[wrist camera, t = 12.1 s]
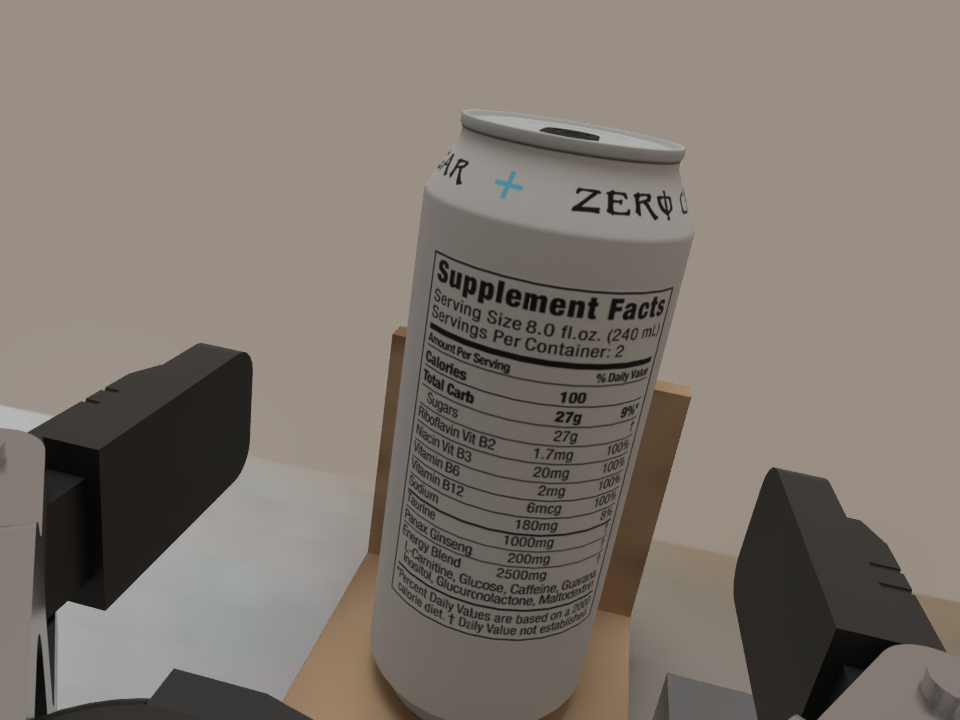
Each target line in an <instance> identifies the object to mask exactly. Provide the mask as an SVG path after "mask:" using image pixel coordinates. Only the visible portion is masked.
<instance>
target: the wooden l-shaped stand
mask: <svg viewBox="0 0 960 720" xmlns="http://www.w3.org/2000/svg"><path fill="white" fill-rule="evenodd" d="M406 334H407V328H406V327H399V328H398V330H396V331H395V332H394V333H393V336H392V344H391V353H390V362H389V372H388V380H387V389H386V397H385V406H384V415H383V425H382V434H381V442H380V450H379V460H378V468H377V477H376V486H375V495H374V503H373V512H372V521H371V530H370V539H369V548H368V553H367V555H366V556H365V558H364V560H363V562H362V563H361V565H360V567H359V569H358V570H357V572H356V574H355V576H354V577H353V579H352V581H351V583H350V584H349V586H348V588H347V590H346V591H345V593H344V595H343V597H342V598H341V600H340V602H339V604H338V605H337V607H336V609H335V611H334V612H333V614H332V616H331V618H330V619H329V621H328V623H327V625H326V626H325V628H324V630H323V632H322V633H321V635H320V637H319V639H318V640H317V642H316V644H315V646H314V647H313V649H312V651H311V653H310V654H309V656H308V658H307V660H306V661H305V663H304V665H303V667H302V668H301V670H300V672H299V674H298V675H297V677H296V679H295V681H294V682H293V684H292V686H291V687H290V689H289V691H288V693H287V694H286V696H285V698H284V700H283V701H282V702H283V703H284V704H286V705H288V706H290V707H292V708H293V709H295V710H297V711H299V712H301V713H302V714H304V715H306V716H308V717H310V718H311V719H313V720H423V719H421V718H419V717H418V716H417V715H416V714H414V713H413V712H412V711H411V710H410V709H409V708H407V707H406V706H405V705H404V703H403V702H402V701H401V700H400V698H399V697H398V696H397V695H396V693H395V691H394V689H393V687H392V686H391V685H390V683H389V682H388V681H387V680H386V678H385V677H384V676H383V675H382V673H381V671H380V669H379V667H378V665H377V663H376V661H375V659H374V657H373V652H372V648H371V643H370V636H371V623H372V614H373V606H374V598H375V590H376V581H377V573H378V565H379V557H380V548H381V540H382V532H383V523H384V515H385V507H386V499H387V490H388V482H389V474H390V466H391V457H392V449H393V441H394V433H395V424H396V416H397V408H398V400H399V391H400V383H401V375H402V367H403V358H404V350H405V342H406ZM690 400H691V393H690V387H687V386H682V385H677V384H673V383H668V382H663V381H658V380H656V384H655V388H654V392H653V396H652V400H651V404H650V407H649V411H648V415H647V419H646V423H645V427H644V431H643V434H642V438H641V442H640V446H639V450H638V454H637V458H636V462H635V465H634V469H633V473H632V477H631V481H630V485H629V489H628V493H627V496H626V500H625V504H624V508H623V512H622V516H621V520H620V524H619V527H618V531H617V535H616V539H615V543H614V547H613V551H612V555H611V558H610V562H609V566H608V570H607V574H606V578H605V582H604V586H603V589H602V593H601V597H600V601H599V605H598V609H597V613H596V617H595V620H594V624H593V628H592V632H591V636H590V640H589V644H588V648H587V651H586V655H585V659H584V663H583V667H582V671H581V675H580V679H579V682H578V684H577V686H576V687H575V689H574V691H573V693H572V694H571V696H570V697H569V698H568V699H567V700H566V701H565V702H564V703H563V704H562V705H561V706H560V707H559V708H558V709H556V710H554V711H552V712H551V713H549V714H547V715H546V716H544V717H542V718H540V719H538V720H628V719H629V654H630V616H631V612H632V609H633V605H634V601H635V598H636V594H637V591H638V587H639V583H640V580H641V576H642V573H643V569H644V565H645V562H646V558H647V555H648V551H649V547H650V544H651V540H652V536H653V533H654V529H655V526H656V522H657V518H658V515H659V511H660V508H661V504H662V501H663V497H664V493H665V490H666V486H667V483H668V479H669V475H670V472H671V468H672V465H673V461H674V457H675V454H676V450H677V446H678V443H679V439H680V436H681V432H682V428H683V425H684V421H685V418H686V414H687V410H688V407H689V403H690Z"/></svg>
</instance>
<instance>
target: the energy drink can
mask: <svg viewBox="0 0 960 720" xmlns="http://www.w3.org/2000/svg"><path fill="white" fill-rule="evenodd" d="M461 122H462V131H461V134H460V136H459V137H458V139H457V141H456V142H455V144H454V145H453V147H452V148H451V150H450V151H449V153H448V154H447V155H446V157H445V158H444V159H443V161H442V162H441V164H440V165H439V167H438V168H437V169H436V171H435V172H434V174H433V175H432V176H431V178H430V179H429V180H428V182H427V184H426V185H425V187H424V193H423V201H422V210H421V218H420V226H419V234H418V243H417V252H416V259H415V268H414V276H413V284H412V293H411V301H410V309H409V317H408V326H407V334H406V342H405V350H404V358H403V367H402V375H401V383H400V391H399V400H398V408H397V416H396V424H395V433H394V441H393V449H392V457H391V466H390V474H389V482H388V490H387V499H386V507H385V515H384V523H383V532H382V540H381V548H380V557H379V565H378V573H377V581H376V590H375V598H374V606H373V614H372V623H371V636H370V643H371V648H372V652H373V657H374V659H375V661H376V663H377V665H378V667H379V669H380V671H381V673H382V675H383V676H384V677H385V678H386V680H387V681H388V682H389V683H390V685H391V686H392V687H393V689H394V691H395V693H396V695H397V696H398V697H399V698H400V700H401V701H402V702H403V703H404V705H405V706H406V707H407V708H409V709H410V710H411V711H412V712H413V713H414V714H416V715H417V716H418V717H419V718H421V719H423V720H538V719H540V718H542V717H544V716H546V715H547V714H549V713H551V712H552V711H554V710H556V709H558V708H559V707H560V706H561V705H562V704H563V703H564V702H565V701H566V700H567V699H568V698H569V697H570V696H571V694H572V693H573V691H574V689H575V687H576V686H577V684H578V682H579V679H580V675H581V671H582V667H583V663H584V659H585V655H586V651H587V648H588V644H589V640H590V636H591V632H592V628H593V624H594V620H595V617H596V613H597V609H598V605H599V601H600V597H601V593H602V589H603V586H604V582H605V578H606V574H607V570H608V566H609V562H610V558H611V555H612V551H613V547H614V543H615V539H616V535H617V531H618V527H619V524H620V520H621V516H622V512H623V508H624V504H625V500H626V496H627V493H628V489H629V485H630V481H631V477H632V473H633V469H634V465H635V462H636V458H637V454H638V450H639V446H640V442H641V438H642V434H643V431H644V427H645V423H646V419H647V415H648V411H649V407H650V404H651V400H652V396H653V392H654V388H655V384H656V380H657V376H658V373H659V368H660V365H661V361H662V357H663V353H664V349H665V345H666V341H667V338H668V334H669V330H670V326H671V322H672V318H673V314H674V311H675V307H676V303H677V299H678V295H679V291H680V287H681V283H682V279H683V276H684V272H685V268H686V264H687V260H688V256H689V252H690V248H691V244H692V241H693V237H694V229H693V224H692V220H691V217H690V213H689V209H688V205H687V202H686V199H685V195H684V191H683V187H682V183H681V178H680V173H679V165H680V162H681V160H682V159H683V158H684V155H685V151H686V148H685V147H683V146H682V145H679V144H676V143H673V142H670V141H667V140H663V139H659V138H655V137H651V136H646V135H642V134H638V133H633V132H629V131H624V130H619V129H614V128H609V127H603V126H598V125H592V124H587V123H581V122H575V121H569V120H563V119H556V118H550V117H543V116H536V115H528V114H520V113H512V112H502V111H492V110H473V109H472V110H464V111H463V112H462V115H461Z"/></svg>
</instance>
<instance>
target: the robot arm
mask: <svg viewBox="0 0 960 720" xmlns="http://www.w3.org/2000/svg"><path fill="white" fill-rule="evenodd" d="M252 369H253V368H252V361H251V358H250V356H249V355H248V354H247V353H246V352H241V351H236V350H232V349H227V348H222V347H218V346H213V345H208V344H204V343H199V344H196V345H195V346H193V347H191V348H190V349H188V350H186V351H185V352H183V353H181V354H180V355H178V356H176V357H175V358H173V359H171V360H170V361H168V362H166V363H165V364H163V365H159V366H155V367H152V368H148V369H144V370H141V371H137V372H134V373H130V374H128V375H126V376H124V377H122V378H121V379H119V380H117V381H116V382H114V383H112V384H111V385H109V386H107V387H106V389H105V391H103V390H100V391H98V392H97V393H95V394H93V395H91V396H90V397H88V398H86V401H85V402H79V403H78V404H76V405H74V406H73V407H71V408H69V409H67V410H65V411H64V412H62V413H61V414H59V415H57V416H55V417H53V418H52V419H50V420H48V421H46V422H45V423H43V424H41V425H40V426H38V427H36V428H34V429H33V430H31V431H29V432H27V433H26V432H23V431H18V430H12V429H2V428H0V720H313V719H311V718H310V717H308V716H306V715H304V714H302V713H301V712H299V711H297V710H295V709H293V708H292V707H290V706H288V705H286V704H284V703H283V702H281V701H279V700H277V699H275V698H274V697H272V696H270V695H268V694H266V693H262V692H258V691H255V690H251V689H247V688H244V687H240V686H236V685H233V684H229V683H225V682H222V681H218V680H214V679H211V678H207V677H203V676H200V675H196V674H192V673H189V672H185V671H181V670H178V669H173V670H172V672H171V673H170V674H169V676H168V677H167V678H166V679H165V681H164V682H163V683H162V684H161V686H160V687H159V688H158V690H157V691H156V692H155V693H154V695H153V696H152V697H151V699H147V698H135V699H117V700H108V701H101V702H94V703H88V704H83V705H79V706H75V707H71V708H66V709H62V710H59V711H57V657H58V627H57V613H56V611H57V610H58V609H59V608H60V607H62V606H63V605H64V604H65V603H66V602H67V601H71V602H74V603H78V604H82V605H86V606H89V607H93V608H97V609H101V610H104V611H106V610H107V609H108V608H109V607H110V606H111V605H112V604H113V603H114V602H115V601H116V600H117V599H118V598H119V597H120V596H121V595H122V594H123V593H124V592H125V591H126V590H127V589H128V588H129V587H130V586H131V585H132V584H133V583H134V582H135V580H136V579H137V578H138V577H139V576H140V575H141V574H142V573H143V572H144V571H145V570H146V569H147V568H148V567H149V566H150V565H151V564H152V563H153V562H154V561H155V560H156V559H157V558H158V557H159V556H160V555H161V554H162V553H163V552H164V551H165V550H166V549H167V548H168V547H169V546H170V545H171V544H172V543H173V542H174V541H175V540H176V539H177V538H178V537H179V536H180V535H181V534H182V533H183V532H184V531H185V530H186V529H187V528H188V527H189V526H190V525H191V524H192V523H193V522H194V521H195V520H196V519H197V518H198V517H199V516H200V515H201V514H202V513H203V512H204V511H205V510H206V509H207V508H208V507H209V506H210V505H211V504H212V503H213V502H214V501H215V500H216V499H217V498H218V497H219V496H220V495H221V494H222V493H223V492H224V491H225V490H226V489H227V488H228V487H229V486H230V485H231V484H232V483H233V482H234V481H235V480H236V479H237V477H238V476H239V474H240V473H241V471H242V469H243V467H244V464H245V461H246V458H247V455H248V450H249V443H250V423H251V398H252V397H251V396H252V375H253V372H252V371H253V370H252ZM900 570H901V569H900V567H899V565H898V563H897V562H896V560H895V558H894V556H893V554H892V552H891V551H890V549H889V547H888V545H887V544H886V543H884V542H883V540H881V539H880V538H879V537H878V536H877V535H876V534H875V533H874V532H872V531H871V530H870V529H869V528H868V527H867V526H866V525H865V524H864V523H863V522H861V521H860V520H856V519H852V518H847V517H846V515H845V513H844V511H843V509H842V507H841V505H840V503H839V501H838V499H837V497H836V495H835V493H834V491H833V489H832V487H831V485H830V483H829V481H828V480H827V479H825V478H820V477H816V476H811V475H806V474H802V473H797V472H792V471H788V470H783V469H778V468H771V469H770V470H769V472H768V473H767V475H766V477H765V479H764V481H763V484H762V487H761V490H760V493H759V496H758V499H757V502H756V505H755V508H754V511H753V514H752V517H751V520H750V523H749V526H748V530H747V533H746V536H745V539H744V542H743V545H742V548H741V551H740V554H739V557H738V561H737V565H736V570H735V577H734V602H735V607H736V613H737V618H738V623H739V628H740V633H741V638H742V643H743V648H744V653H745V658H746V663H747V668H748V674H749V679H750V684H751V689H752V694H753V699H754V704H755V709H756V714H757V719H758V720H960V658H958V657H956V656H953V655H951V654H949V653H947V652H946V650H945V649H944V647H943V645H942V643H941V641H940V639H939V638H938V636H937V634H936V632H935V630H934V629H933V627H932V625H931V623H930V621H929V620H928V618H927V616H926V614H925V612H924V610H923V609H922V607H921V605H920V603H919V601H918V600H917V598H916V596H915V595H912V594H911V593H912V589H911V587H910V585H909V583H908V581H907V580H906V578H905V576H904V574H900Z"/></svg>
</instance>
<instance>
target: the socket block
mask: <svg viewBox="0 0 960 720" xmlns="http://www.w3.org/2000/svg"><path fill="white" fill-rule="evenodd" d="M653 720H758V719H757V714H756V709H755V704H754V699H753V695H751V694H747V693H743V692H740V691H736V690H732V689H728V688H724V687H720V686H716V685H712V684H708V683H705V682H701V681H697V680H693V679H689V678H685V677H681V676H677V675H674V674H670V673H667V675H666V678H665V682H664V685H663V688H662V691H661V694H660V698H659V701H658V704H657V707H656V711H655V714H654V717H653Z"/></svg>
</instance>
